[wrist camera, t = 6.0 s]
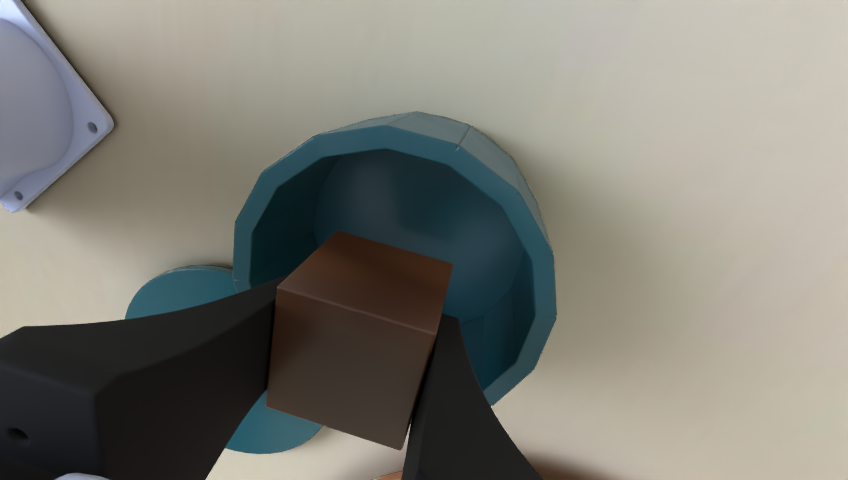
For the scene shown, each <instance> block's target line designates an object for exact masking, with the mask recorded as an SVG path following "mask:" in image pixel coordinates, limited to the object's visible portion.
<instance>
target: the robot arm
mask: <svg viewBox="0 0 848 480" xmlns="http://www.w3.org/2000/svg"><path fill="white" fill-rule="evenodd" d="M95 125H96V127H97V130H96V128H95ZM113 127H114V123H113V120H112V118H111V116H110V115H109V114H108V112H107V111H106V110H105V108H104V107H103V106H102V105H101V103H100V102H99V101H98V99H97V98H96V97H95V96H94V94H93V93H92V92H91V90H90V89H89V88H88V87H87V85H86V84H85V83H84V81H83V80H82V79H81V78H80V76H79V75H78V74H77V72H76V71H75V70H74V69H73V67H72V66H71V65H70V63H69V62H68V61H67V60H66V58H65V57H64V56H63V54H62V53H61V52H60V51H59V49H58V48H57V47H56V45H55V44H54V43H53V42H52V40H51V39H50V38H49V36H48V35H47V34H46V33H45V31H44V30H43V29H42V27H41V26H40V25H39V24H38V22H37V21H36V20H35V18H34V17H33V16H32V15H31V13H30V12H29V11H28V9H27V8H26V7H25V6H24V4H23V3H22V2H21V0H0V203H1V204H2V205H3V206H4V207H5V208H6V209H7V210H8V211H10V212H18V211H21V210H23V209H24V208H26V207H27V206H28V205H29V204H30V203H31V202H32V201H33V200H34V199H36V198H37V197H38V196H39V195H40V194H41V193H42V192H43V191H45V190H46V189H47V188H48V187H49V186H50V185H51V184H52V183H54V182H55V181H56V180H57V179H58V178H59V177H60V176H61V175H63V174H64V173H65V172H66V171H67V170H68V169H69V168H70V167H72V166H73V165H74V164H75V163H76V162H77V161H78V160H79V159H80V158H82V157H83V156H84V155H85V154H86V153H87V152H88V151H89V150H91V149H92V148H93V147H94V146H95V145H96V144H97V143H98V142H100V141H101V140H102V139H103V138H104V137H105V136H106V135H107V134H109V133H110V132H111V131H112V129H113ZM290 274H291V273H290ZM290 274H287V275H285V276H282V277H279V278H277V279H274V280H272V281H269V282H267V283H264V284H261V285H259V286H256V287H254V288H251V289H248V290H246V291H243V292H240V293H237V294H234V295H231V296H228V297H225V298H222V299H219V300H216V301H212V302H209V303H205V304H202V305H198V306H194V307H190V308H186V309H182V310H177V311H173V312H167V313H162V314H156V315H150V316H145V317H139V318H133V319H125V320H117V321H108V322H98V323H87V324H73V325H51V326H24V327H21V328H20V329H18V330H16V331H14V332H12V333H10V334H8V335H6V336H4V337H2V338H0V480H205V479H206V478H207V476H208V474H209V473H210V471H211V469H212V468H213V466H214V465H215V463H216V461H217V460H218V458H219V456H220V455H221V453H222V451H223V450H224V448H225V447H226V445H227V444H228V442H229V441H230V439H231V437H232V436H233V434H234V433H235V431H236V430H237V428H238V426H239V425H240V423H241V422H242V420H243V419H244V418H245V416H246V415H247V414H248V412H249V411H250V409H251V408H252V407H253V406H254V404H255V403H256V402H257V401H258V399H259V398H260V397H261V395H262V394H263V393H264V392H265V390H266V389H267V384H268V374H269V364H270V354H271V344H272V334H273V324H274V314H275V304H276V294H277V287H278V285H279V284H280V283H281V282H283V281H284V280H285V279H286V278H287V277H288V276H289V275H290ZM401 480H544V479H543V478H542V477H541V476H540V475H539V474H538V473H537V472H536V470H535V469H534V468H533V467H532V466H531V464H530V463H529V462H528V461H527V459H526V458H525V457H524V456H523V455H522V453H521V452H520V451H519V449H518V448H517V447H516V445H515V444H514V443H513V441H512V440H511V438H510V437H509V435H508V434H507V433H506V431H505V430H504V428H503V427H502V425H501V424H500V422H499V421H498V419H497V417H496V416H495V414H494V412H493V410H492V409H491V407H490V405H489V403H488V401H487V399H486V397H485V395H484V393H483V391H482V389H481V387H480V384H479V382H478V380H477V377H476V375H475V373H474V370H473V367H472V365H471V362H470V359H469V356H468V353H467V350H466V347H465V343H464V339H463V335H462V330H461V325H460V321H459V319H458V318H457V317H453V316H450V315H447V314H443V313H442V315H441V319H440V323H439V327H438V331H437V335H436V339H435V342H434V345H433V349H432V352H431V355H430V359H429V362H428V365H427V369H426V372H425V375H424V379H423V382H422V385H421V389H420V392H419V395H418V399H417V402H416V405H415V409H414V412H413V415H412V420H411V426H410V433H409V439H408V445H407V452H406V458H405V463H404V468H403V473H402V477H401Z"/></svg>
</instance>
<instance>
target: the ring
mask: <svg viewBox="0 0 848 480" xmlns="http://www.w3.org/2000/svg"><path fill="white" fill-rule="evenodd" d="M402 473H403V471H401V472H396V473H392V474H388V475H384V476H381V477H378V478H375V479H372V480H401V477H402Z"/></svg>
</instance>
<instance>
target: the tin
mask: <svg viewBox="0 0 848 480" xmlns="http://www.w3.org/2000/svg"><path fill="white" fill-rule="evenodd" d="M336 231H341V232H345V233H348V234H352V235H355V236H359V237H362V238H366V239H369V240H373V241H376V242H380V243H383V244H386V245H390V246H393V247H397V248H400V249H404V250H407V251H411V252H414V253H418V254H421V255H425V256H428V257H431V258H435V259H438V260H442V261H445V262H449V263H452V264H453V269H452V273H451V277H450V282H449V286H448V290H447V294H446V298H445V302H444V306H443V311H442V313H443V314H447V315H450V316H453V317H457V318H458V319H459V321H460V325H461V330H462V335H463V339H464V343H465V347H466V350H467V353H468V356H469V359H470V362H471V365H472V367H473V370H474V373H475V375H476V377H477V380H478V382H479V384H480V387H481V389H482V391H483V393H484V395H485V397H486V399H487V401H488V403H489V405H490V407H491V405H494V404H495V403H496V402H497V401H499V400H500V399H501V398H502V397H503V396H504V395H506V394H507V393H508V392H509V391H510V390H511V389H512V388H514V387H515V386H516V385H517V384H518V383H519V382H521V381H522V380H523V379H524V378H525V377H526V376H527V375H529V374H530V373H531V372H532V370H534V369H535V367H536V364H537V362H538V360H539V357H540V355H541V353H542V351H543V348H544V346H545V344H546V341H547V339H548V337H549V335H550V332H551V330H552V328H553V325H554V323H555V321H556V315H557V308H556V289H555V270H554V255H553V251H552V248H551V245H550V242H549V239H548V235H547V232H546V229H545V226H544V223H543V220H542V217H541V213H540V210H539V207H538V204H537V202H536V200H535V198H534V196H533V194H532V192H531V190H530V189H529V187H528V185H527V182H526V180H525V178H524V177H523V175H522V174H521V172H520V170H519V168H518V166H517V164H516V162H515V161H514V159H513V158H512V157H511V156H509V155H508V154H507V153H506V152H504V151H503V150H502V149H501V148H500V147H499V146H498V145H497V144H496V143H495V142H493V141H492V140H491V139H489V138H488V137H486V136H485V135H483V134H482V133H481V132H479V131H478V130H476V129H475V128H474V127H473V126H470V125H468V124H465V123H461V122H458V121H455V120H452V119H449V118H446V117H441V116H436V115H431V114H427V113H423V112H411V113H405V114H397V115H391V116H386V117H380V118H373V119H368V120H365V121H361V122H358V123H355V124H351V125H348V126H345V127H341V128H338V129H335V130H331V131H328V132H325V133H321V134H318V135H316V136H313V137H312V138H310V139H309V140H307V141H306V142H304V143H303V144H301V145H300V146H299V147H297V148H296V149H294V150H293V151H291V152H290V153H288V154H287V155H286V156H284V157H283V158H281V159H280V160H278V161H277V162H275V163H274V164H273V165H271V166H270V167H268V168H267V169H265V170H264V171H263V172H262V173H261V175H260V177H259V179H258V180H257V182H256V184H255V186H254V188H253V190H252V192H251V193H250V195H249V197H248V199H247V201H246V203H245V205H244V206H243V208H242V210H241V212H240V214H239V216H238V218H237V219H236V221H235V231H234V252H233V273H232V278H233V283H234V286H235V288H236V291H237V293H240V292H243V291H246V290H248V289H251V288H254V287H256V286H259V285H261V284H264V283H267V282H269V281H272V280H274V279H277V278H279V277H282V276H285V275H287V274H290V273H292V272H293V271H294V270H295V269H296V268H298V267H299V266H300V265H301V264H302V263H303V262H304V261H305V260H306V259H307V258H308V257H309V256H310V255H311V254H313V253H314V252H315V251H316V250H317V249H318V248H319V247H320V246H321V245H322V244H323V243H324V242H325V241H326V240H328V239H329V238H330V237H331V236H332V235H333V234H334V233H335V232H336ZM411 420H412V419H411ZM410 424H411V422H410Z"/></svg>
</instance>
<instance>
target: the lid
mask: <svg viewBox="0 0 848 480" xmlns="http://www.w3.org/2000/svg"><path fill="white" fill-rule="evenodd" d="M232 273H233V270H231V269H227V268H223V267H216V266H208V265H193V266H185V267H179V268H176V269H173V270H169V271H166V272H165V273H163V274H161V275H159V276H157V277H155V278H153V279H152V280H150V281H149V282H148V283H146V284H145V285H144V286H143V287H142V288H141V289H140V290H139V291H138V292H137V293H136V295H135V296H134V298H133V299H132V301H131V303H130V305H129V307H128V310H127V313H126V316H125V319H133V318H139V317H145V316H150V315H156V314H162V313H167V312H173V311H177V310H182V309H186V308H190V307H194V306H198V305H202V304H205V303H209V302H212V301H216V300H219V299H222V298H225V297H228V296H231V295H234V294H237V291H236V288H235V286H234V283H233V278H232ZM266 394H267V389H266V390H265V392H264V393H263V394H262V395H261V397H260V398H259V399H258V401H257V402H256V403H255V404H254V406H253V407H252V408H251V409H250V411H249V412H248V414H247V415H246V416H245V418H244V419H243V420H242V422H241V423H240V425H239V426H238V428H237V430H236V431H235V433H234V434H233V436H232V437H231V439H230V441H229V442H228V444H227V445H226V447H225V448H227V449H230V450H234V451H239V452H244V453H254V454H271V453H277V452H283V451H286V450H290V449H293V448H295V447H297V446H299V445H302V444H303V443H305V442H306V441H308V440H309V439H311V438H312V437H313V436H314V435H315V434H316V433H317V432H318V431H319V429H320V428H321V427H322V425H320V424H317V423H314V422H311V421H308V420H305V419H302V418H298V417H295V416H292V415H289V414H286V413H283V412H280V411H277V410H274V409H271V408H268V407H266V406H265V404H266Z"/></svg>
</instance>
